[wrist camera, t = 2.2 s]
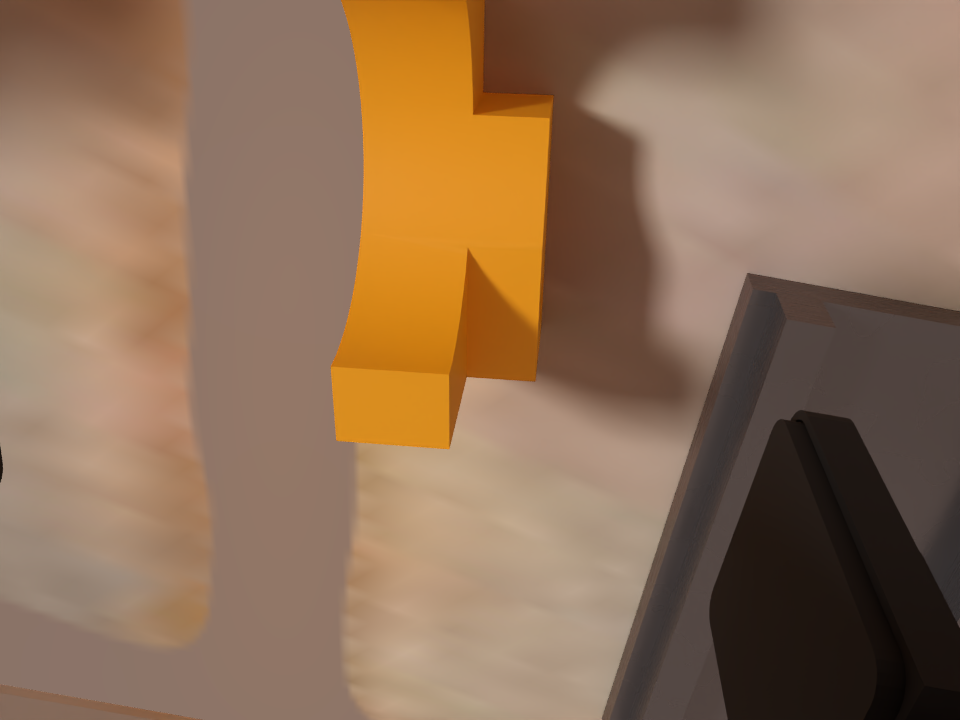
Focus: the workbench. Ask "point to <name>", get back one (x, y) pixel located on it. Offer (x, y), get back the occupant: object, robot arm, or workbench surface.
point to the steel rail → (741, 443)
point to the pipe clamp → (439, 225)
